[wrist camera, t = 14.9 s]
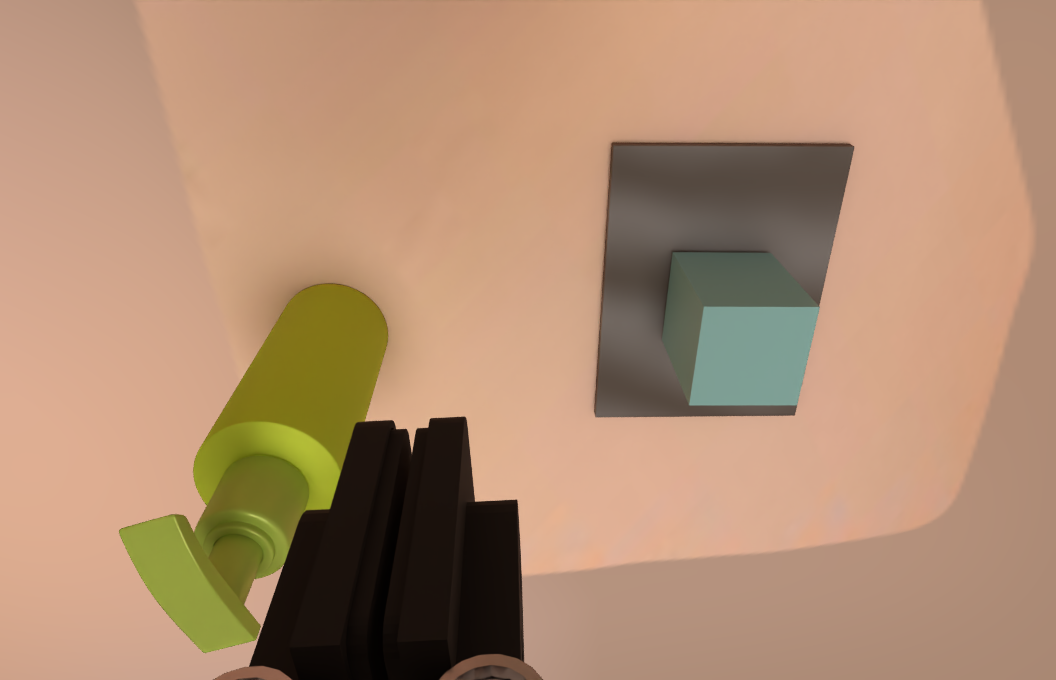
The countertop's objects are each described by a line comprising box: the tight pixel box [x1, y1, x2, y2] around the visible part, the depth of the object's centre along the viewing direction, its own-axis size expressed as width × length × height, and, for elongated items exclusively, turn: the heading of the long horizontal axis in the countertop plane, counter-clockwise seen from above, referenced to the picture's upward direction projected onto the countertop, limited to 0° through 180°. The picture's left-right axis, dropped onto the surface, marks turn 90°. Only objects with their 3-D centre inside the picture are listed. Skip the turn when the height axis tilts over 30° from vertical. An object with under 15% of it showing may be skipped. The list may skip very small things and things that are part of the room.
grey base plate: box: [594, 143, 854, 417], centre depth 37 cm, size 16×12×7 cm
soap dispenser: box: [119, 284, 388, 653], centre depth 31 cm, size 6×7×20 cm
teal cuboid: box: [662, 252, 820, 405], centre depth 36 cm, size 5×5×7 cm
